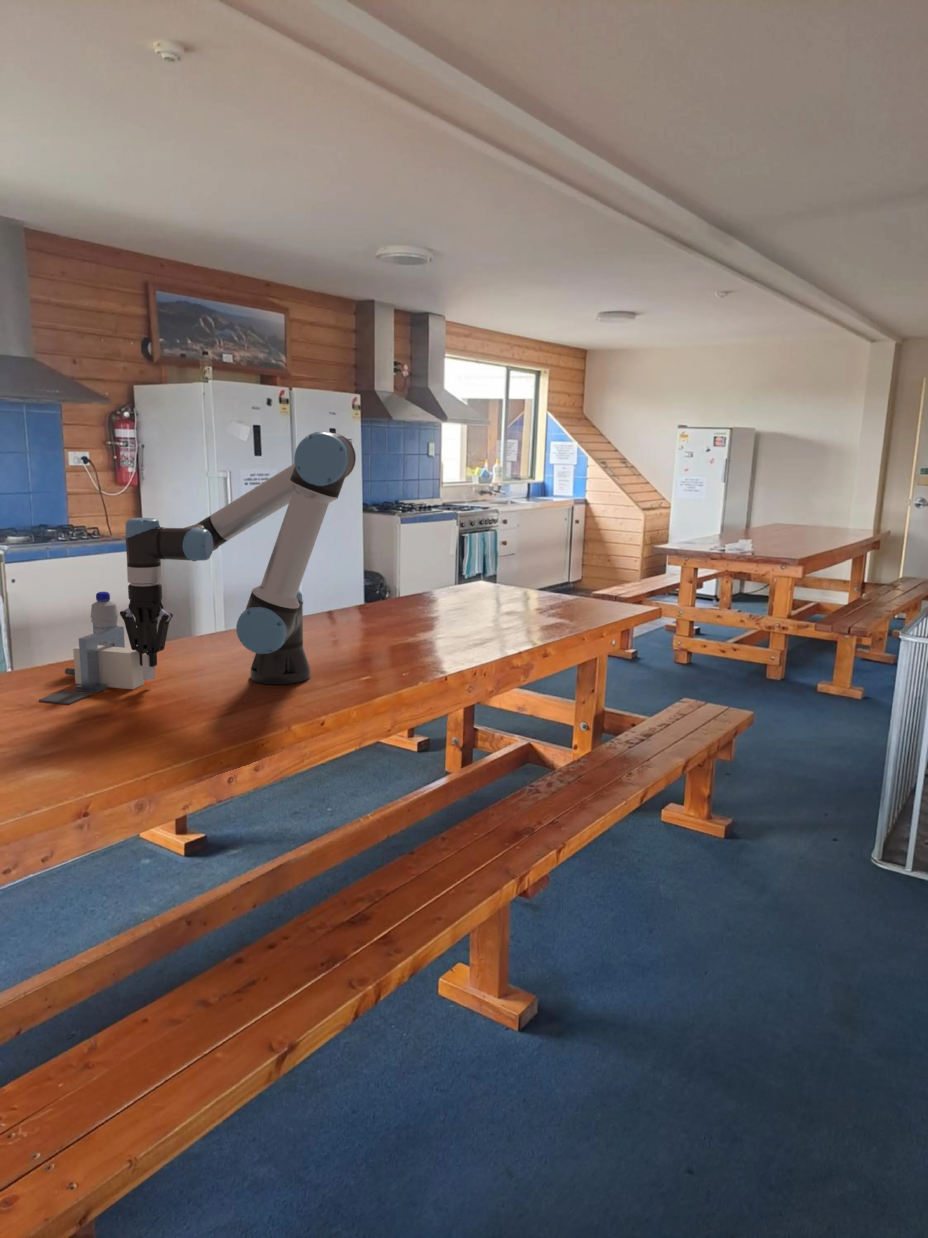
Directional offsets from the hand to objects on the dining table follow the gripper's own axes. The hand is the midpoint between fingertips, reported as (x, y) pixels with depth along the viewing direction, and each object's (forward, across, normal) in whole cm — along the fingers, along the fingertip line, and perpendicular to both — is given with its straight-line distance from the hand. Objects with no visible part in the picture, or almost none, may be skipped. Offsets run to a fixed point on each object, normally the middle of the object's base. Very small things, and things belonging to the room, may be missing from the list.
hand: (149, 678), depth 204 cm
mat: (+2, +13, +13) cm, 19 cm away
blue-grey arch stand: (+2, +12, 0) cm, 13 cm away
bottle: (+3, +22, -15) cm, 27 cm away
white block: (+2, +13, 0) cm, 13 cm away
